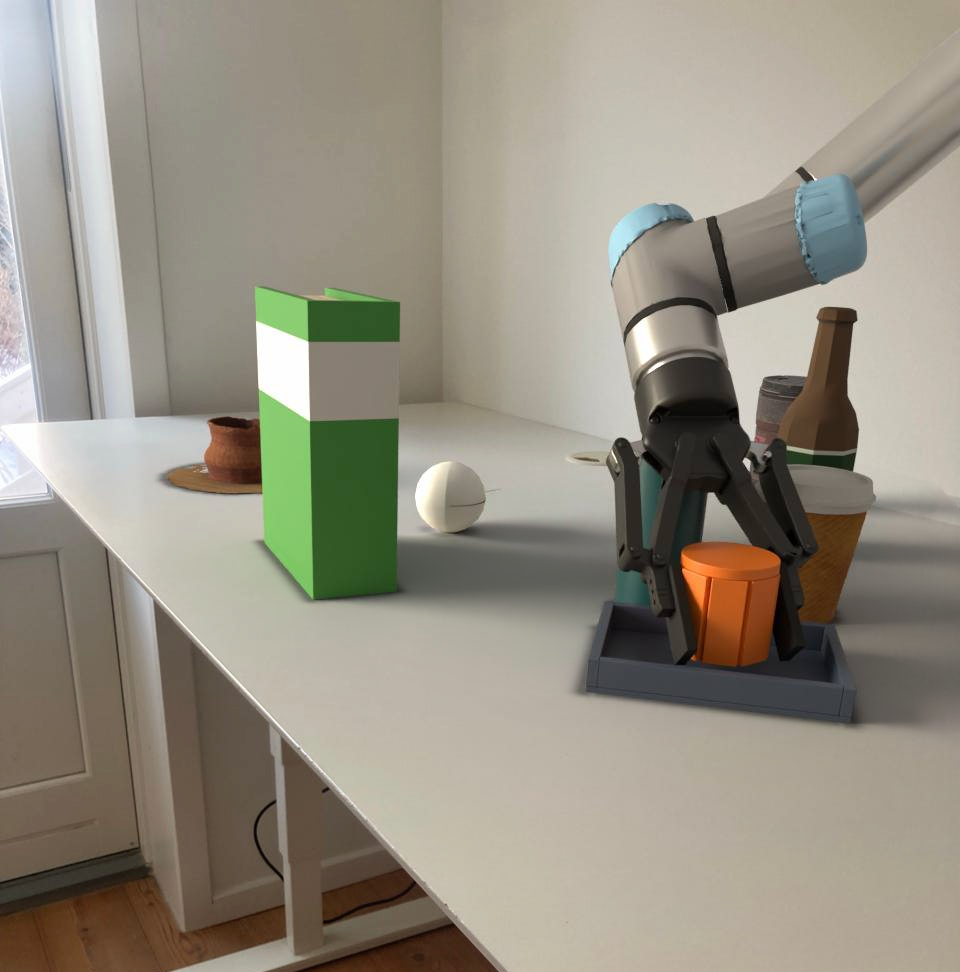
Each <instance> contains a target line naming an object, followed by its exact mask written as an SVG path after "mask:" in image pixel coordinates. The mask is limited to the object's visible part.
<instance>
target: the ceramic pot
mask: <svg viewBox="0 0 960 972" xmlns="http://www.w3.org/2000/svg"><path fill="white" fill-rule="evenodd" d="M206 424H207V425H208V428H209V433H210V438H211V439H210V443H209V444H208V446H207V448H206V450H205V452H204V453H203V459H204V465H201V464H193V465H191V466H190V467H182V468H178V469H174V470H172V472H170V473H168V474H167V476H166V477H165V480H168V481H169V483H170V484H172V485H175V486H177V487H181V488H186V489H188V490H191V491H193V490H196V491H199V492H207V493H216V494H220V493H222V494H261V493H262V494H263V490H262V463H261V437H260V418H254V417H253V418H252V419H246V418H244V417H242V418H238V417H233V416H218V417H212V418H210V419H208V420H206Z"/></svg>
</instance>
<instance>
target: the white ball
mask: <svg viewBox="0 0 960 972" xmlns="http://www.w3.org/2000/svg"><path fill="white" fill-rule="evenodd" d="M499 490H501V488H496V489H491V490H486V491H485V486H484V483H483V481H482V479H481V476H480V475H479V474H478V473H477V472H476V471H474V469H473V468H471V467H470V466H468V465H466V464H464V463H462V462H459V461H442V462H439V463H437V464H435V465H432V466H430V467H429V469H427V470H426V471H425V472H424V473H423V474H422V476H421V477H420V479H419V481H418V482H417V485H416V491H415V505H416V509H417V511H418V513H419V515H420V517H421V519H422V520H423V521H424V522H425V523H426V524H427V525H428V526H430V527H431V528H433V529H435V530H438V531H439V532H443V533H448V534H450V533H451V534H453V533H458V532H461V531H464V530H467V529H470V527H471V526H472V525H473V524H475V523H476V522H477V521H478V520H479V519H480V517H481V515H482V513H483V512H484V508H485V505H486V501H487V500H486V499H487V498H486V493H489V492H490V493H491V492H494V491H499Z"/></svg>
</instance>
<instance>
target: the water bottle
mask: <svg viewBox="0 0 960 972" xmlns="http://www.w3.org/2000/svg"><path fill="white" fill-rule="evenodd" d="M639 471H640V490H641V511H642V532H643V548H646V549H648V544H649V540H650V535H651V531H652V526H653V522H654V518H655V513H656V509H657V504H658V501H657V499H658V494H659V490H660V485H661V481H662V477H661V476H660V475H659V474H658V473H657V472H656V471H655V470H653V469H652V468H651V467H650V466H649V465H648V464H647V463H646V462H645V461H644V460H643V458H642V463H641V465H640V467H639ZM708 495H709V493H708V492H703V491H694V492H690V493H683V497H682V502H681V506H680V511H679V516H678V520H677V525H676V530H675V535H674V539H673V544H672V549H671V553H670V558H669V561H668V568H669V566H670V565H671V564H680V558H681V551H682V549H683V548H684V547H685V546H688V545H690V544H694V543H700V542H703V535H704V528H705V520H706V512H707V503H708V497H709V496H708ZM616 568H617V569H616V576H615V577H616V578H615V588H614V598H613V601H614V602H623V603H633V604H642V605H651V601H650V596H649V590H648V585H647V584H645V583H643V582H642V581H641V580H640V573H639V572H635V571H632V570H631V571H629V572H623V571H621V570H620V569H619V568H618V565H617V567H616Z"/></svg>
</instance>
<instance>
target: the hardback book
mask: <svg viewBox="0 0 960 972" xmlns="http://www.w3.org/2000/svg"><path fill="white" fill-rule="evenodd" d="M254 297H255V302H254V303H255V324H256V325H255V326H256V327H255V328H256V350H257V351H256V352H257V353H256V354H257V355H256V357H257V379H258V380H257V381H258V405H259V406H258V407H259V419H260V437H261V463H262V490H263V493H262V510H263V511H262V516H263V535H264V536H263V541H264V544H265V545H266V547H268V549H269V550H270V552H272V554H274V556H275V557H276V558H277V559H278V561H280V563H281V564H282V565H283V566H284V568H285V569H286V570H287V571H288V573H290V575H291V576H292V577H293V578H294V579H295V581H296V582H297V583H298V584H299V586H301V587H302V589H303V590H304V591H305V592H306V594H308V596H309V597H310V598H311V599H312V600H313V601H315V600H324V599H335V598H345V597H353V596H363V595H364V596H365V595H372V594H383V593H391V592H398V522H399V521H398V518H399V516H398V513H399V511H398V509H399V441H400V440H399V439H400V438H399V434H400V433H399V432H400V431H399V430H400V429H399V428H400V359H401V357H400V354H401V353H400V351H401V350H400V349H401V347H400V346H401V342H400V341H401V302H400V301H397V300H393V299H387V298H384V297H378V296H373V295H370V294H364V293H360V292H356V291H352V290H351V291H350V290H346V289H342V288H336V287H324V295H315V294H314V295H309V294H308V295H307V294H306V295H305V294H295V293H291V292H289V291H288V292H287V291H284V290H280V289H276V288H272V287H270V286H269V287H268V286H261V285H258V286H257V285H256V286H254Z"/></svg>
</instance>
